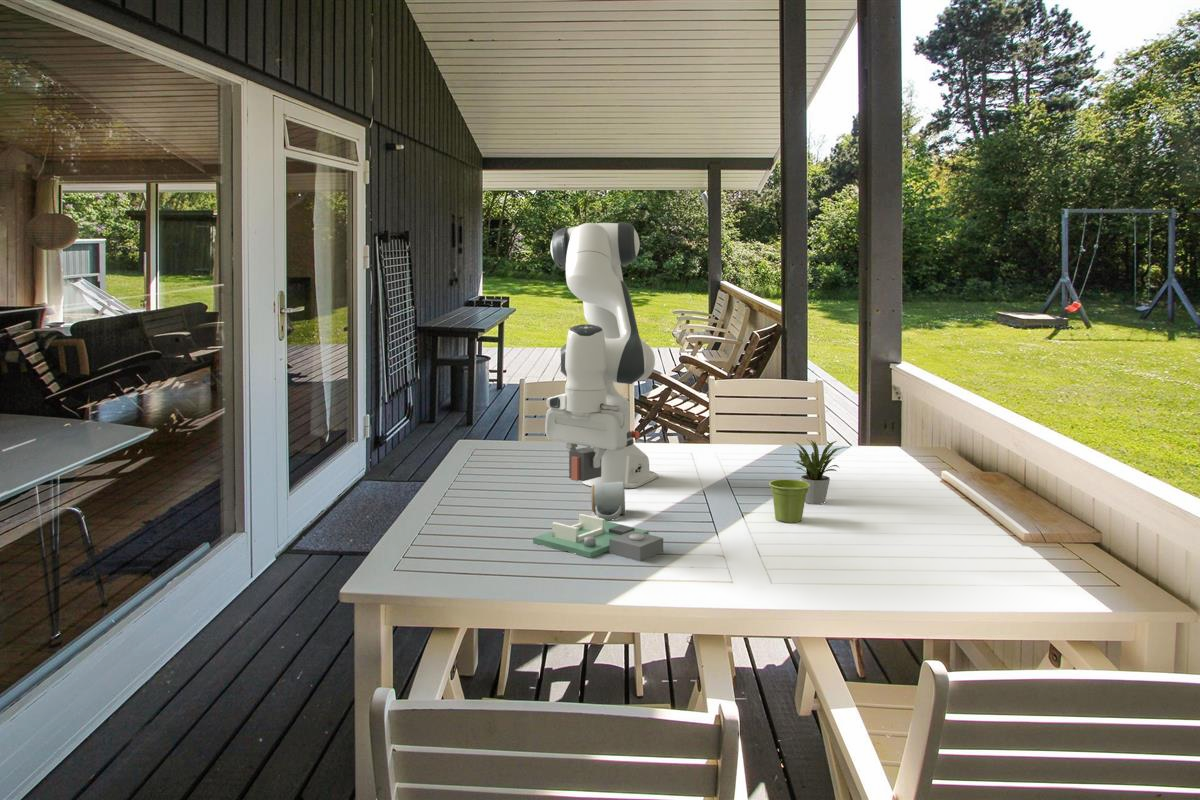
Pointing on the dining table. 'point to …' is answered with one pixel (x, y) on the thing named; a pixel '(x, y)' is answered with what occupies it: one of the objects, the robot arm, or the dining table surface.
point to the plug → (582, 464)
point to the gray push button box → (636, 545)
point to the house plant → (816, 472)
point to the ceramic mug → (608, 499)
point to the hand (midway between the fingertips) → (585, 465)
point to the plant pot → (789, 499)
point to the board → (584, 535)
